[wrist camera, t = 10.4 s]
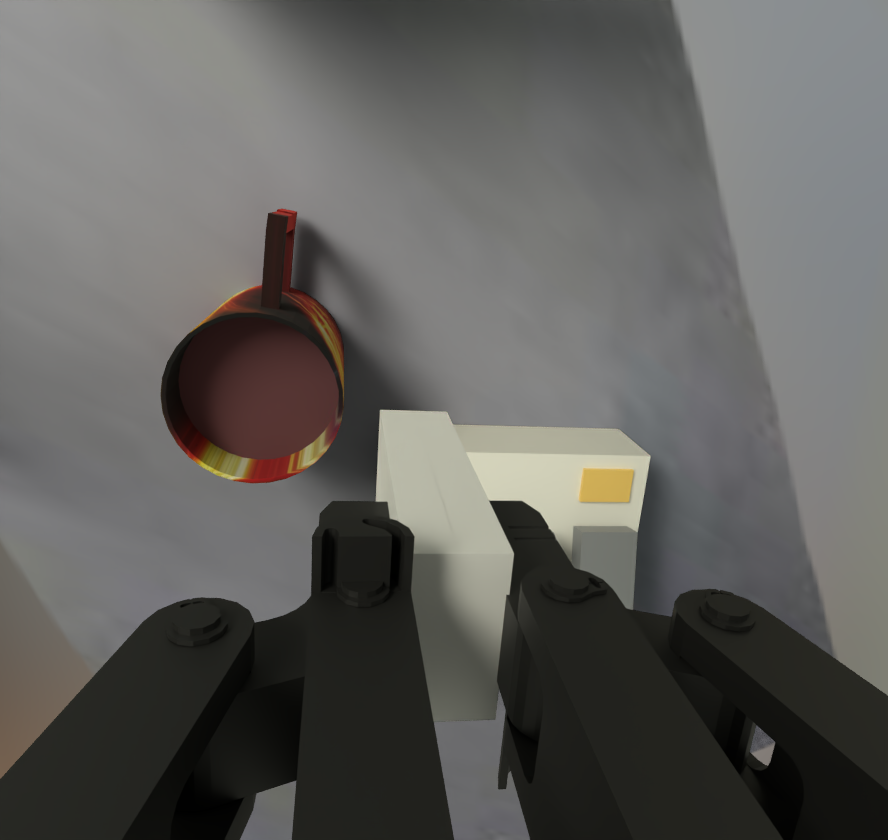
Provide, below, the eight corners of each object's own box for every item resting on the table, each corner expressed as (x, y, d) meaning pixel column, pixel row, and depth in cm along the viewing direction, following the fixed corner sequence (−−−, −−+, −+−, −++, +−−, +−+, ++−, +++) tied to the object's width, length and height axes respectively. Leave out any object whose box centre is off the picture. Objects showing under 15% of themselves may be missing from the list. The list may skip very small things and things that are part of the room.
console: (388, 422, 51) (394, 454, 45) (618, 428, 54) (654, 459, 48) (377, 631, 57) (381, 686, 50) (588, 627, 59) (617, 679, 53)
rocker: (573, 526, 49) (582, 532, 47) (626, 526, 50) (638, 532, 48) (567, 635, 50) (576, 646, 48) (620, 634, 50) (631, 645, 48)
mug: (295, 204, 46) (280, 207, 35) (362, 394, 51) (367, 451, 39) (155, 248, 46) (93, 265, 34) (235, 436, 50) (203, 505, 39)
